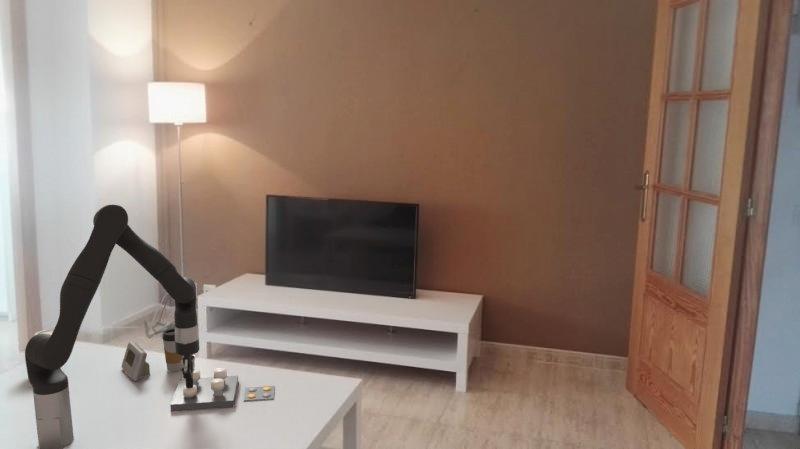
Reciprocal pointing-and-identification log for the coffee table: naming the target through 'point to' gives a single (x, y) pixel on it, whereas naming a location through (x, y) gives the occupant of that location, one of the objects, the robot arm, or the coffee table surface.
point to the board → (205, 395)
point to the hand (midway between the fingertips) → (189, 387)
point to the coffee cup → (171, 352)
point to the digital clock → (135, 362)
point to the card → (259, 393)
